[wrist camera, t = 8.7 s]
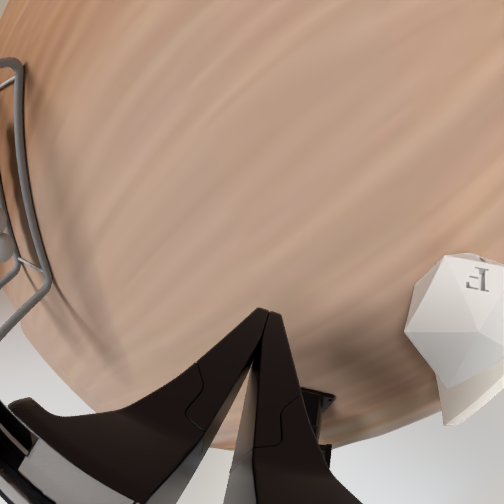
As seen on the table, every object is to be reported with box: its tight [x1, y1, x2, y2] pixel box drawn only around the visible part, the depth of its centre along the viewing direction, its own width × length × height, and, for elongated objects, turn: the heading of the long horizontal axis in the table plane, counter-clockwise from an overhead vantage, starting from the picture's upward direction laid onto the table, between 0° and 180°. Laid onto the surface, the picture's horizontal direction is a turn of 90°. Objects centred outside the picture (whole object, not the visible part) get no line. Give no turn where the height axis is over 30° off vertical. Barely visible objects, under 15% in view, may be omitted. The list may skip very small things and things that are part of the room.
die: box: [404, 252, 504, 389], centre depth 13 cm, size 8×9×10 cm
